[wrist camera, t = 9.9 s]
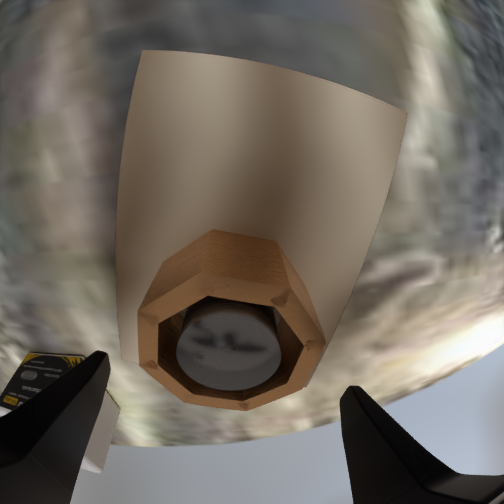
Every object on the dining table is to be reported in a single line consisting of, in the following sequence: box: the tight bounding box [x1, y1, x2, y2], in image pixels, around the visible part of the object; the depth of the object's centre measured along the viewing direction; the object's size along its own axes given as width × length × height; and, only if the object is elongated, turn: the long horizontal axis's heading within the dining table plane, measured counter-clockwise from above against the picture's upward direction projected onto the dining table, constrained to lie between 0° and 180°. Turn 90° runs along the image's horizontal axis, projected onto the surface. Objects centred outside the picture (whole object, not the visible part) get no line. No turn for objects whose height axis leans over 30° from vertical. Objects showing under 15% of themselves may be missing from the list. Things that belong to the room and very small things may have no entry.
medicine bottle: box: [0, 353, 120, 473], centre depth 14 cm, size 7×7×12 cm
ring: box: [137, 229, 327, 411], centre depth 12 cm, size 7×7×4 cm
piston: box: [176, 296, 281, 390], centre depth 12 cm, size 4×4×4 cm
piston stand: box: [115, 50, 408, 387], centre depth 14 cm, size 12×17×2 cm
